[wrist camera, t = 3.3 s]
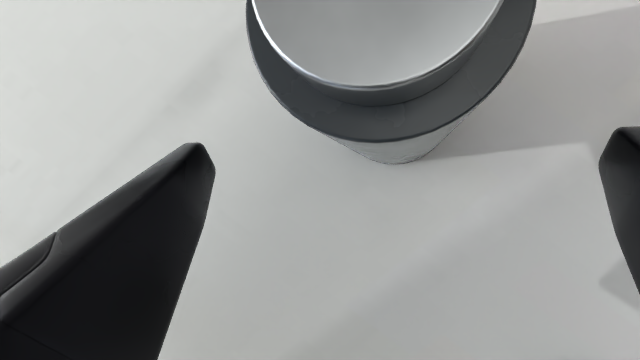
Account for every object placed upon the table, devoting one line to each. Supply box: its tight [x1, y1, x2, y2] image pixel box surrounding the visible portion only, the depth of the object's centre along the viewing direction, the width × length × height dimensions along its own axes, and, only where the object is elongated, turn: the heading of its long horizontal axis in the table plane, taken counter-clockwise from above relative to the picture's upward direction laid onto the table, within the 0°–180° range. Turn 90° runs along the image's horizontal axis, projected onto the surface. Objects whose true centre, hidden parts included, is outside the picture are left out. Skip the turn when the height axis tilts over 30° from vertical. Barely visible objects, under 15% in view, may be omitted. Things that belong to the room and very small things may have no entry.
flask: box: [246, 0, 536, 164], centre depth 12 cm, size 6×6×13 cm
